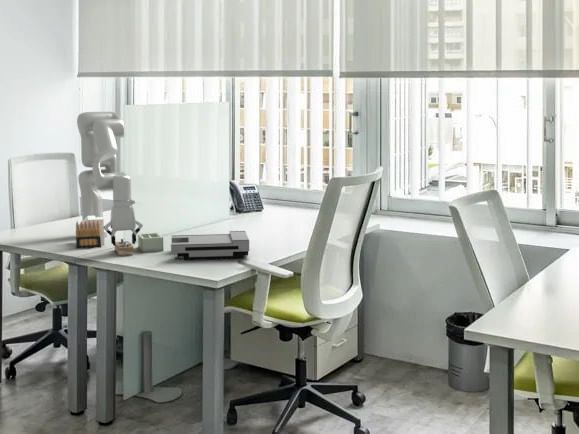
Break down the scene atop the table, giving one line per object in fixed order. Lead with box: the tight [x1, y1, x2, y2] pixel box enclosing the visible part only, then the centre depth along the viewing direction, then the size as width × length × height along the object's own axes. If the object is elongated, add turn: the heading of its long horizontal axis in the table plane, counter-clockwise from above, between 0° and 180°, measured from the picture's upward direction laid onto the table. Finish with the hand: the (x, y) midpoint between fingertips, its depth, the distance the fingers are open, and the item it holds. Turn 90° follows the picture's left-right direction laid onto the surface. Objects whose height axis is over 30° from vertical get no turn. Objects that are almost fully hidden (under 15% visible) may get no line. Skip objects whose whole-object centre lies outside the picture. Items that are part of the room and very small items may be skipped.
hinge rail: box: [119, 238, 134, 257], centre depth 322 cm, size 13×5×5 cm, turn 22°
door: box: [114, 240, 135, 256], centre depth 323 cm, size 13×6×3 cm, turn 21°
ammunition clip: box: [75, 220, 102, 249], centre depth 332 cm, size 11×2×12 cm, turn 105°
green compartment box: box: [137, 232, 164, 253], centre depth 329 cm, size 11×9×6 cm
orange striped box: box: [78, 216, 105, 246], centre depth 340 cm, size 11×11×12 cm
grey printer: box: [170, 230, 250, 262], centre depth 319 cm, size 21×32×8 cm, turn 98°
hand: (123, 244), depth 322 cm, fingers open, 7 cm apart
